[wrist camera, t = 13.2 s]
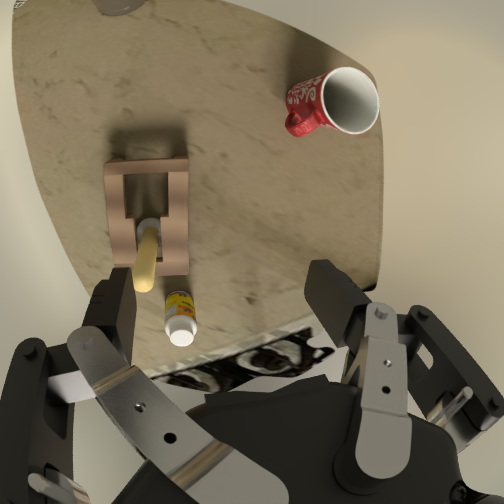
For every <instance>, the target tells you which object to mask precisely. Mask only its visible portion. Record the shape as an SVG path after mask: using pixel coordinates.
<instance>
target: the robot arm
mask: <svg viewBox="0 0 504 504" xmlns="http://www.w3.org/2000/svg"><path fill="white" fill-rule="evenodd" d="M92 1H93V3H94V4H95V5H96V7H97V8H98V9H99V10H100V12H102V13H103V14H106V15H110V16H118V15H123V14H126V13H129V12H132V11H133V10H135V9H137V8H139V7H140V6H141V5H143V4H144V3H145V2H146V1H147V0H92ZM304 295H305V299H306V301H307V303H308V304H309V306H310V307H311V309H312V310H313V312H314V313H315V315H316V316H317V318H318V319H319V321H320V322H321V324H322V325H323V327H324V328H325V330H326V331H327V333H328V334H329V336H330V338H331V339H332V341H333V342H334V344H335V345H336V347H337V348H340V347H344V346H348V347H349V349H348V351H347V354H346V359H345V364H344V369H343V374H342V378H341V383H338V382H329V381H328V379H327V377H326V375H325V374H323V375H319V376H314V377H311V378H306V379H301V380H298V381H295V382H294V383H291V384H289V385H287V386H285V387H283V388H281V389H278V390H276V391H274V392H270V393H266V392H247V391H232V392H223V393H213V394H205V395H204V396H205V403H204V404H201V405H198V406H196V407H194V408H192V409H190V410H188V411H187V412H185V413H184V412H183V411H182V410H181V409H179V408H178V407H177V406H176V405H175V404H174V403H173V402H172V401H171V400H170V399H169V398H168V397H167V396H165V394H164V393H163V392H162V391H161V390H160V389H159V388H158V387H157V386H156V385H155V384H154V383H153V382H152V381H151V380H150V379H149V378H148V377H147V376H146V375H145V374H144V373H143V372H142V371H141V370H140V369H139V368H138V367H137V366H136V365H133V366H131V359H132V347H133V337H134V328H135V319H136V310H137V305H136V296H135V290H134V284H133V278H132V271H131V268H130V267H116V268H113V269H112V272H111V275H110V278H109V280H101V281H100V282H99V283H98V284H97V285H96V286H95V288H94V291H93V294H92V297H91V299H90V304H89V305H88V308H87V311H86V314H85V317H84V320H83V323H82V327H80V328H78V329H76V330H74V331H73V332H72V333H71V334H70V335H69V337H68V339H67V343H64V344H61V345H57V346H52V347H48V348H47V347H46V345H45V343H44V341H42V340H41V339H39V338H28V339H26V340H24V341H22V342H21V343H20V344H19V345H18V346H17V348H16V349H15V352H14V355H13V358H12V361H11V364H10V367H9V370H8V373H7V377H6V380H5V384H4V388H3V391H2V395H1V400H0V504H91V503H90V499H89V496H88V494H87V492H86V491H85V490H84V489H83V487H82V486H80V485H79V484H77V483H76V482H74V480H73V421H74V406H75V402H78V401H82V400H86V399H90V398H95V399H96V400H97V402H98V403H99V404H100V406H101V407H102V409H103V410H104V411H105V413H106V414H107V415H108V417H109V418H110V419H111V421H112V422H113V423H114V425H115V426H116V427H117V428H118V430H119V431H120V432H121V434H122V435H123V436H124V437H125V439H126V440H127V441H128V442H129V443H130V445H131V446H132V447H133V448H134V449H135V451H136V452H137V453H138V454H139V455H140V456H141V457H142V458H143V459H144V460H145V462H144V463H143V464H142V466H141V467H140V468H139V469H138V471H137V472H136V473H135V475H134V476H133V477H132V479H131V480H130V481H129V482H128V484H127V485H126V486H125V488H124V489H123V490H122V491H121V492H120V494H119V495H118V496H117V497H116V499H115V500H114V501H113V502H112V503H111V504H504V498H503V497H501V496H497V495H489V494H484V493H480V492H477V491H474V490H472V489H470V488H469V487H468V486H466V484H465V483H464V481H463V479H462V476H461V473H460V469H459V464H458V456H457V454H458V453H459V452H461V451H462V450H464V449H465V448H466V447H468V446H469V445H470V444H471V443H473V442H474V441H475V440H476V439H478V437H480V436H481V435H482V434H484V433H485V432H486V431H487V430H488V429H489V428H490V427H492V426H493V425H494V424H495V423H496V422H497V421H498V420H499V419H500V418H501V417H502V416H503V415H504V398H503V396H502V395H501V394H500V392H499V391H498V390H497V388H496V387H495V386H494V384H493V383H492V382H491V380H490V379H489V378H488V376H487V375H486V374H485V372H484V371H483V370H482V369H481V367H480V366H479V365H478V364H477V363H476V361H475V360H474V359H473V358H472V356H471V355H470V354H469V353H468V352H467V350H466V349H465V348H464V347H463V346H462V345H461V343H460V342H459V341H458V340H457V339H456V338H455V337H454V335H453V334H452V333H451V332H450V331H449V330H448V329H447V328H446V327H445V325H444V324H443V323H442V322H441V321H440V320H439V319H438V318H437V317H436V316H435V315H434V314H433V312H432V311H430V310H429V309H428V308H426V307H423V306H420V305H414V306H412V307H411V308H410V310H409V312H408V314H407V315H402V314H396V313H395V311H394V310H393V309H392V308H391V307H389V306H388V305H386V304H384V303H380V302H372V301H371V300H370V299H369V298H368V297H367V296H366V294H365V293H364V292H363V291H362V290H361V289H360V288H359V287H357V285H356V284H355V283H354V282H352V279H351V278H350V277H349V276H348V275H347V274H345V273H344V272H342V271H340V270H339V269H337V268H336V267H335V266H334V265H333V264H332V263H331V262H330V261H329V260H328V259H323V260H312V261H311V263H310V266H309V270H308V275H307V279H306V283H305V288H304ZM422 344H424V346H425V347H426V348H427V349H428V351H429V352H430V353H431V355H432V356H433V361H434V362H433V365H432V367H431V368H430V370H429V369H428V367H427V366H426V365H425V364H424V362H423V361H422V359H421V358H420V357H419V355H418V354H417V352H418V350H419V349H420V347H421V346H422ZM407 389H408V391H409V392H410V394H411V395H412V397H413V399H414V400H415V402H416V403H417V405H418V406H419V408H420V410H421V411H422V413H423V415H424V416H425V418H426V420H427V421H426V420H424V419H421V418H419V417H417V416H415V415H412V414H410V413H408V412H407Z"/></svg>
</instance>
